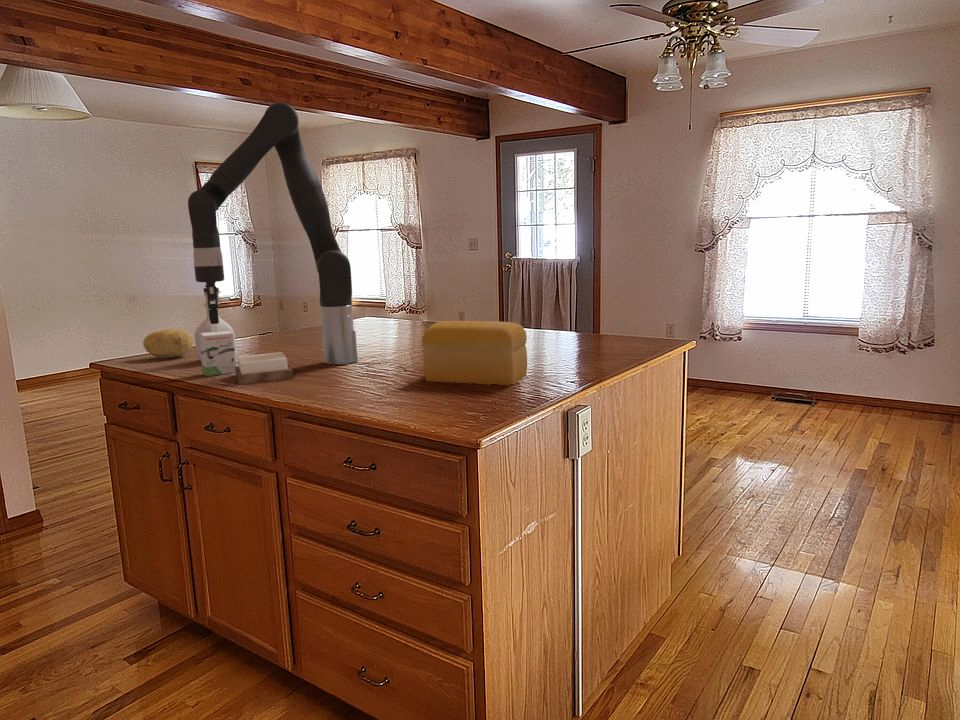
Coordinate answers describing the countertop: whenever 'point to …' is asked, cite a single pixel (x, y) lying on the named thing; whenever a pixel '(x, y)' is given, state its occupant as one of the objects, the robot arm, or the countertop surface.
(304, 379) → the countertop surface
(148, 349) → the potato
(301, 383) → the countertop surface
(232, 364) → the ink box
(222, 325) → the soap bottle
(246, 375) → the walnut slab
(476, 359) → the bread
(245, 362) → the cream slab
